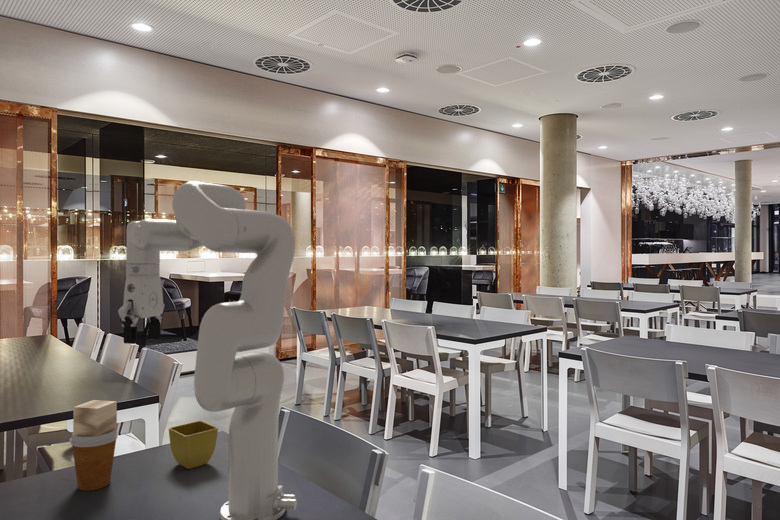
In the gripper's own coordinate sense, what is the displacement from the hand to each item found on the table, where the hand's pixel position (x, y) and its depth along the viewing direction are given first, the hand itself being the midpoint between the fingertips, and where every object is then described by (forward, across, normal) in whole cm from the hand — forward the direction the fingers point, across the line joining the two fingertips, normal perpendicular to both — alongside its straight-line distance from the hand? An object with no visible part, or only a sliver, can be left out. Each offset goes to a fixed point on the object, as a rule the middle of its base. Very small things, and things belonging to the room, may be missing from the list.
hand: (142, 340), depth 132 cm
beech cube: (+18, -14, +2) cm, 23 cm away
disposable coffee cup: (+30, -14, +2) cm, 34 cm away
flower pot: (+30, +1, -13) cm, 33 cm away
